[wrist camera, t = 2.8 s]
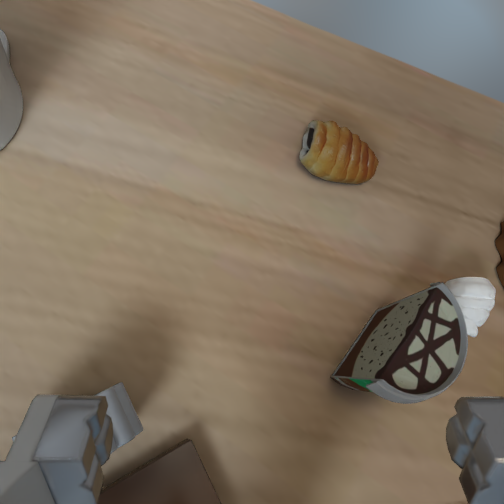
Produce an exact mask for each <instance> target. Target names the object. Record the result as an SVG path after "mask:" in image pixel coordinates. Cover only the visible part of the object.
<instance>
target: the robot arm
mask: <svg viewBox="0 0 504 504" xmlns="http://www.w3.org/2000/svg"><path fill="white" fill-rule="evenodd" d="M9 59H10V47H9V42H8V40H7V37H6V35H5V33H4V32H3V31H2V30H1V29H0V150H1V149H3V148H4V147H5V146H6V145H7V144H8V142H9V141H10V140H11V139H12V137H13V136H14V134H15V133H16V131H17V129H18V127H19V124H20V121H21V118H22V113H23V98H22V93H21V89H20V86H19V84H18V81H17V79H16V77H15V75H14V73H13V71H12V69H11V67H10V64H9ZM107 408H108V402H107V399H106V396H84V395H37V396H36V397H35V398H34V399H33V400H32V402H31V404H30V406H29V408H28V411H27V413H26V415H25V417H24V420H23V422H22V424H21V426H20V428H19V431H18V433H17V435H16V437H15V440H14V442H13V444H12V446H11V449H10V451H9V453H8V455H7V457H6V460H5V461H0V504H97V503H98V500H99V496H100V492H101V488H102V484H103V480H104V475H103V472H102V468H101V466H102V465H103V464H104V463H105V462H106V461H107V460H108V459H109V457H110V453H111V448H112V441H113V423H112V419H111V417H110V416H109V415H107V414H106V412H107ZM455 410H456V412H457V414H456V415H455V416H453V417H452V418H450V419H449V422H448V424H447V427H446V442H447V446H448V451H449V453H450V456H451V459H452V460H453V461H454V462H455V463H456V464H457V465H458V466H459V467H460V468H461V469H462V471H461V474H460V477H459V480H460V483H461V485H462V488H463V490H464V493H465V496H466V498H467V501H468V503H469V504H504V397H461V398H459V399H458V400H457V402H456V404H455Z"/></svg>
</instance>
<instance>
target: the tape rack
mask: <svg viewBox="0 0 504 504" xmlns="http://www.w3.org/2000/svg"><path fill="white" fill-rule="evenodd" d="M97 504H221V502H220V500H219V498H218V496H217V494H216V492H215V489H214V487H213V485H212V483H211V481H210V479H209V477H208V474H207V472H206V470H205V468H204V466H203V464H202V462H201V459H200V457H199V455H198V453H197V451H196V449H195V447H194V445H193V442H192V440H190V439H186V440H184V441H183V442H181V443H179V444H178V445H176V446H174V447H173V448H171V449H169V450H168V451H166V452H164V453H163V454H161V455H159V456H157V457H156V458H154V459H152V460H151V461H149V462H147V463H146V464H144V465H142V466H141V467H139V468H137V469H136V470H134V471H132V472H131V473H129V474H127V475H126V476H124V477H122V478H121V479H119V480H117V481H116V482H114V483H112V484H111V485H109V486H107V487H106V488H104V489H102V490H101V492H100V496H99V500H98V503H97Z"/></svg>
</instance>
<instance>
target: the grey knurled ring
mask: <svg viewBox="0 0 504 504" xmlns="http://www.w3.org/2000/svg"><path fill="white" fill-rule="evenodd" d="M94 396H106V399H107V402H108V408H107V412H106V414H107V415H109V416H110V417H111V419H112V423H113V441H112V448H111V453H112V452H114V451H115V450H116V449H117V448H119V447H121V446H122V445H124V444H126V443H128V442H129V441H131V440H132V439H133V438H134V437H135V436H136V435H137V434H139V433H140V432H142V431H143V426H142V424H141V422H140V420H139V418H138V416H137V413H136V411H135V409H134V407H133V405H132V402H131V400H130V398H129V396H128V394H127V391H126V389H125V387H124V385H123V383H122V382H120V383H118V384H116V385H114V386H112V387H110V388H108V389H106V390H104V391H102V392H100V393H98V394H96V395H94ZM15 437H16V435H15V436H14V437H12V440H13V442H14V440H15ZM111 453H110V454H111Z"/></svg>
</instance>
